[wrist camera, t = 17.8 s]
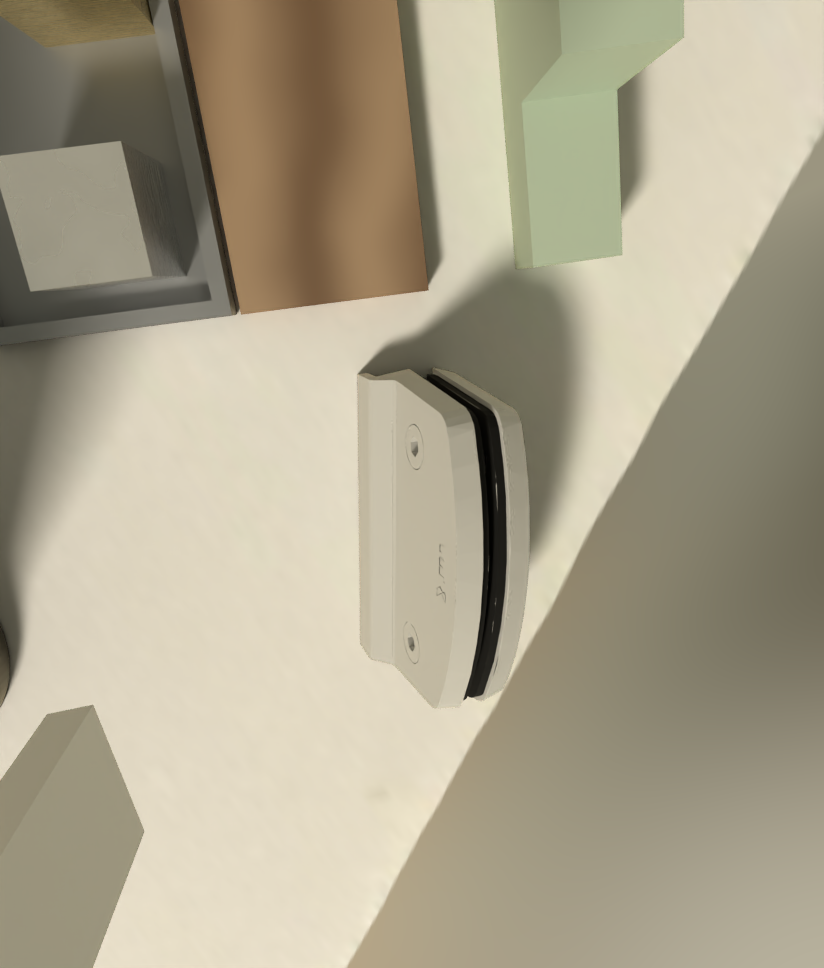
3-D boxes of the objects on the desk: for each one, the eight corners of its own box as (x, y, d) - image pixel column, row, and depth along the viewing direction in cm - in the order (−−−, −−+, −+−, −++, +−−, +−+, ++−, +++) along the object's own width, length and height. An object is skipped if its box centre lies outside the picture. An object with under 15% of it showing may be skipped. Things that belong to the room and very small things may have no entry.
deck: (247, 312, 32) (241, 314, 31) (153, -167, 26) (139, -193, 25) (426, 289, 32) (428, 290, 31) (372, -193, 26) (372, -220, 25)
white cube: (83, 289, 31) (30, 291, 26) (52, 176, 29) (-9, 156, 25) (186, 276, 31) (152, 276, 26) (161, 163, 30) (120, 141, 25)
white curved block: (357, 366, 33) (440, 399, 24) (440, 363, 35) (546, 393, 26) (360, 650, 38) (430, 761, 29) (432, 634, 40) (518, 735, 31)
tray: (-5, 345, 32) (-19, 347, 31) (-156, -131, 26) (-181, -150, 25) (237, 314, 32) (231, 315, 31) (140, -166, 26) (129, -186, 25)
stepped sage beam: (514, 269, 32) (573, 265, 23) (478, -184, 27) (535, -440, 17) (593, 257, 32) (684, 249, 23) (573, -197, 27) (682, -459, 17)
